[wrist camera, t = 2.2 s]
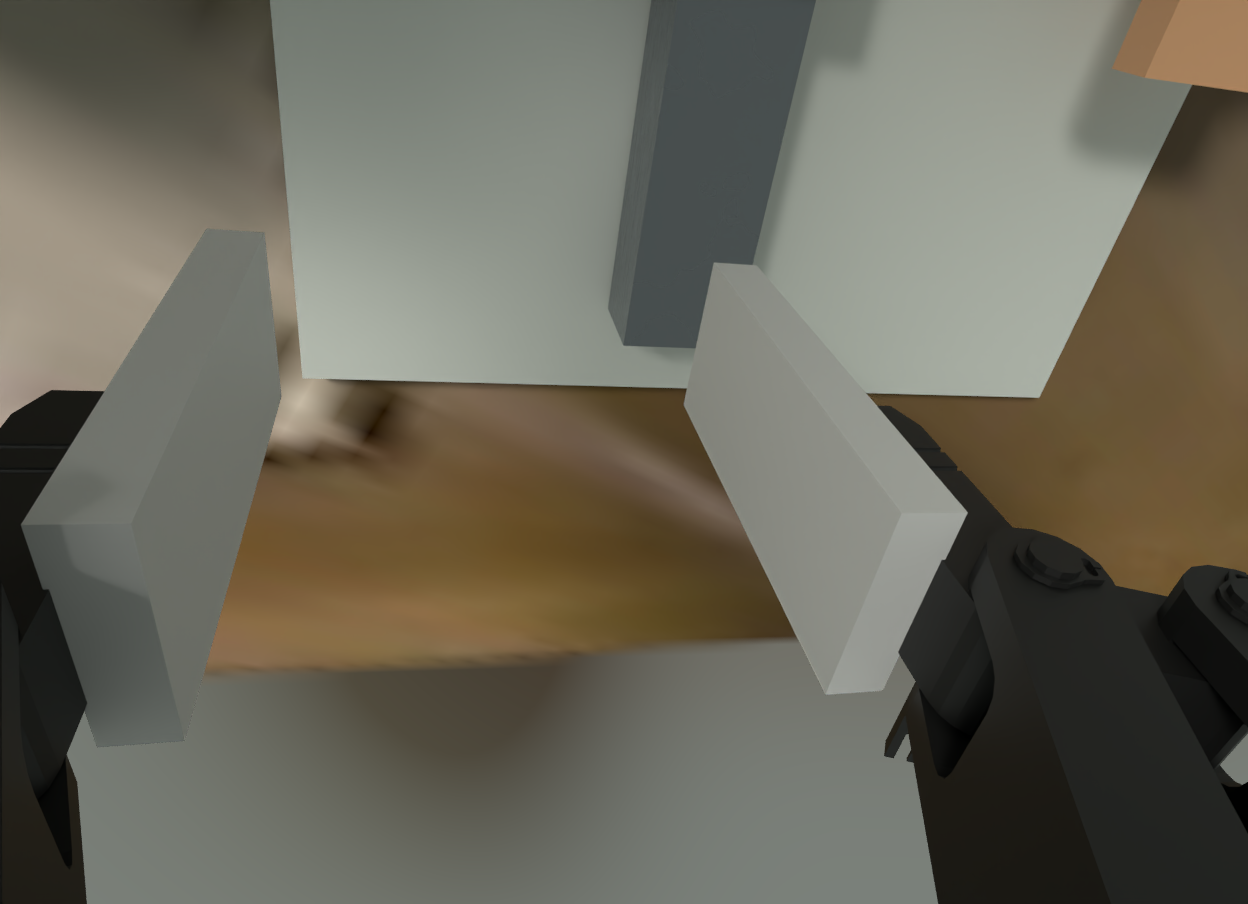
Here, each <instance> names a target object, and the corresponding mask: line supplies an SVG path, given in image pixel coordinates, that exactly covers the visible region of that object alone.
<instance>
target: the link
mask: <svg viewBox="0 0 1248 904" xmlns="http://www.w3.org/2000/svg"><path fill="white" fill-rule="evenodd" d="M815 3H816V0H651V6H650V13H649V21H648V28H647V35H646V42H645V49H644V56H643V63H642V70H641V77H640V84H639V91H638V98H637V105H636V113H635V120H634V127H633V134H632V141H631V148H630V155H629V162H628V169H627V176H626V183H625V190H624V197H623V205H622V212H621V219H620V226H619V233H618V240H617V247H616V254H615V261H614V268H613V275H612V282H611V289H610V297H609V304H608V310H609V313H610V315H611V318H612V320H613V322H614V325H615V327H616V329H617V332H618V334H619V337H620V339H621V341H622V344H623V346H645V347H671V348H696V344H697V339H698V335H699V330H700V325H701V321H702V316H703V311H704V306H705V302H706V297H707V292H708V288H709V283H710V278H711V273H712V269H713V264H714V263H729V264H744V265H753V261H754V257H755V253H756V249H757V245H758V240H759V236H760V232H761V228H762V224H763V219H764V215H765V211H766V207H767V203H768V199H769V194H770V190H771V186H772V182H773V178H774V174H775V169H776V165H777V161H778V157H779V153H780V149H781V144H782V140H783V136H784V132H785V128H786V124H787V119H788V115H789V111H790V107H791V103H792V99H793V94H794V90H795V86H796V82H797V78H798V74H799V69H800V65H801V61H802V57H803V53H804V48H805V44H806V40H807V36H808V32H809V28H810V23H811V19H812V15H813V11H814V7H815Z"/></svg>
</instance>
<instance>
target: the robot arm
mask: <svg viewBox="0 0 1248 904" xmlns="http://www.w3.org/2000/svg"><path fill="white" fill-rule="evenodd" d="M280 400H281V387H280V378H279V368H278V358H277V349H276V339H275V330H274V320H273V310H272V301H271V291H270V282H269V272H268V262H267V253H266V243H265V234H264V233H263V232H248V231H233V230H218V229H206V231H205V232H204V234H203V235H202V237H201V239H200V240H199V242H198V243H197V245H196V247H195V248H194V250H193V251H192V253H191V255H190V256H189V258H188V259H187V261H186V263H185V264H184V266H183V267H182V269H181V270H180V272H179V274H178V275H177V277H176V278H175V280H174V282H173V283H172V285H171V286H170V288H169V290H168V291H167V293H166V294H165V296H164V298H163V299H162V301H161V302H160V304H159V306H158V307H157V309H156V310H155V312H154V314H153V315H152V317H151V318H150V320H149V321H148V323H147V325H146V326H145V328H144V329H143V331H142V333H141V334H140V336H139V337H138V339H137V341H136V342H135V344H134V345H133V347H132V349H131V350H130V352H129V353H128V355H127V357H126V358H125V360H124V361H123V363H122V364H121V366H120V368H119V369H118V371H117V372H116V374H115V376H114V377H113V379H112V380H111V382H110V384H109V385H108V387H107V388H106V390H105V391H64V390H51V391H49V392H47V393H46V394H44V395H42V396H41V397H39V398H37V399H36V400H34V401H32V402H31V403H29V404H27V405H26V406H24V407H22V408H21V409H19V410H17V411H16V412H14V413H12V414H11V415H10V416H9V418H8V419H7V420H6V421H5V423H4V424H3V425H2V427H1V428H0V904H87V901H86V888H85V876H84V863H83V850H82V838H81V825H80V812H79V800H78V787H77V781H76V778H75V776H74V773H73V770H72V768H71V765H70V762H69V760H68V757H67V752H68V749H69V747H70V744H71V742H72V740H73V737H74V735H75V732H76V730H77V727H78V725H79V722H80V720H81V717H82V715H83V713H84V711H85V714H86V717H87V719H88V722H89V725H90V728H91V731H92V734H93V737H94V740H95V742H96V746H97V747H109V746H123V745H135V744H150V743H163V742H178V741H185V738H186V735H187V731H188V728H189V724H190V721H191V717H192V713H193V710H194V706H195V702H196V699H197V696H198V692H199V688H200V685H201V681H202V678H203V674H204V671H205V667H206V664H207V660H208V656H209V653H210V649H211V646H212V642H213V639H214V635H215V631H216V628H217V624H218V621H219V617H220V614H221V610H222V606H223V603H224V599H225V596H226V592H227V589H228V585H229V581H230V578H231V574H232V571H233V567H234V564H235V560H236V557H237V553H238V549H239V546H240V542H241V539H242V535H243V532H244V528H245V524H246V521H247V517H248V514H249V510H250V507H251V503H252V499H253V496H254V492H255V489H256V485H257V482H258V478H259V474H260V471H261V467H262V464H263V460H264V457H265V453H266V450H267V446H268V442H269V439H270V435H271V432H272V428H273V425H274V421H275V417H276V414H277V410H278V407H279V403H280ZM684 407H685V409H686V411H687V413H688V415H689V417H690V419H691V421H692V423H693V425H694V427H695V429H696V431H697V433H698V435H699V437H700V440H701V442H702V444H703V446H704V448H705V450H706V452H707V454H708V456H709V458H710V460H711V462H712V464H713V466H714V468H715V470H716V472H717V474H718V476H719V478H720V480H721V483H722V485H723V487H724V489H725V491H726V493H727V495H728V497H729V499H730V501H731V503H732V505H733V507H734V509H735V511H736V513H737V515H738V517H739V519H740V521H741V523H742V526H743V528H744V530H745V532H746V534H747V536H748V538H749V540H750V542H751V544H752V546H753V548H754V550H755V552H756V554H757V556H758V558H759V560H760V562H761V564H762V567H763V569H764V571H765V573H766V575H767V577H768V579H769V581H770V583H771V585H772V587H773V589H774V591H775V593H776V595H777V597H778V599H779V601H780V603H781V605H782V607H783V610H784V612H785V614H786V616H787V618H788V620H789V622H790V624H791V626H792V628H793V630H794V632H795V634H796V636H797V638H798V640H799V642H800V644H801V646H802V648H803V651H804V653H805V655H806V657H807V659H808V661H809V663H810V665H811V667H812V669H813V671H814V673H815V675H816V677H817V679H818V681H819V683H820V685H821V687H822V689H823V691H824V693H825V695H832V694H846V693H858V692H859V693H860V692H874V691H883V689H884V687H885V685H886V683H887V681H888V679H889V677H890V675H891V673H892V671H893V668H894V666H895V664H896V662H897V660H898V658H899V656H901V658H902V659H903V661H904V663H905V664H906V666H907V668H908V669H909V671H910V672H911V674H912V676H913V678H914V679H915V681H916V682H915V684H914V686H913V688H912V690H911V692H910V694H909V696H908V698H907V700H906V702H905V704H904V706H903V708H902V710H901V712H900V714H899V716H898V718H897V720H896V722H895V724H894V726H893V728H892V730H891V732H890V733H889V736H888V738H887V739H886V743H885V753H884V756H886V757H891V758H894V756H895V754H896V752H897V751H898V749H899V747H900V745H901V743H902V740H903V739H904V737H905V735H906V734H909V739H910V745H911V751H910V753H909V755H908V757H907V761H909V762H913V763H914V767H915V773H916V779H917V784H918V791H919V796H920V802H921V808H922V813H923V819H924V825H925V830H926V836H927V842H928V847H929V853H930V859H931V864H932V870H933V876H934V882H935V887H936V892H937V899H938V904H1248V782H1247V783H1245V784H1243V785H1241V784H1239V783H1237V782H1235V781H1234V780H1233V779H1232V778H1231V777H1230V776H1228V774H1226V772H1225V771H1224V770H1223V769H1222V767H1221V766H1220V764H1221V763H1222V762H1223V761H1224V760H1225V758H1226V757H1227V756H1228V755H1229V754H1230V753H1231V752H1232V751H1233V749H1234V748H1235V747H1236V746H1237V745H1238V744H1239V743H1240V741H1241V740H1242V739H1243V738H1244V737H1245V736H1246V735H1247V734H1248V575H1247V574H1246V573H1245V572H1241V571H1238V570H1235V569H1228V568H1223V567H1217V566H1211V565H1204V566H1196V567H1191V568H1190V569H1189V570H1188V571H1187V572H1186V573H1185V574H1183V576H1182V577H1181V578H1180V580H1179V581H1178V583H1177V584H1176V586H1175V587H1174V588H1173V590H1172V591H1171V593H1170V594H1169V596H1168V597H1167V596H1162V595H1157V594H1153V593H1148V592H1143V591H1138V590H1133V589H1128V588H1123V587H1119V586H1115V584H1114V582H1113V580H1112V579H1111V578H1110V577H1109V575H1108V574H1107V573H1106V571H1105V570H1104V569H1103V568H1102V566H1101V565H1100V564H1099V563H1098V562H1096V561H1095V560H1094V559H1093V558H1091V557H1090V556H1089V555H1087V554H1086V553H1085V552H1083V551H1082V550H1081V549H1079V548H1077V547H1075V546H1074V545H1072V544H1070V543H1068V542H1066V541H1064V540H1062V539H1060V538H1058V537H1056V536H1052V535H1049V534H1046V533H1043V532H1039V531H1036V530H1033V529H1021V528H1012V526H1011V525H1010V524H1009V523H1008V522H1007V521H1006V520H1005V519H1004V518H1003V517H1002V515H1001V514H1000V513H999V512H998V511H997V510H996V509H995V508H994V507H993V505H992V504H991V503H990V502H989V501H988V500H987V499H986V498H985V497H984V495H983V494H982V493H981V492H980V491H979V490H978V489H977V488H976V487H975V485H974V484H973V483H972V482H971V481H970V480H969V479H968V478H967V477H966V476H965V474H964V473H963V472H962V471H957V466H956V464H955V463H954V462H953V461H952V460H951V459H950V458H949V457H948V456H947V454H946V453H945V452H940V449H941V448H940V447H939V446H938V444H937V443H936V442H935V441H934V440H933V439H932V438H931V437H930V436H929V435H928V433H927V432H926V431H925V430H924V429H923V428H922V427H921V426H920V425H919V424H917V423H916V422H914V421H912V420H911V419H909V418H908V417H906V416H905V415H903V414H902V413H900V412H899V411H897V410H896V409H894V408H892V407H891V406H876V404H875V403H874V402H873V401H872V400H871V398H870V397H869V396H868V395H867V394H866V393H865V391H864V390H863V389H862V388H861V387H860V386H859V384H858V383H857V382H856V381H855V380H854V379H853V377H852V376H851V375H850V374H849V373H848V372H847V370H846V369H845V368H844V367H843V366H842V365H841V363H840V362H839V361H838V360H837V359H836V357H835V356H834V355H833V354H832V353H831V352H830V350H829V349H828V348H827V347H826V346H825V345H824V343H823V342H822V341H821V340H820V339H819V338H818V336H817V335H816V334H815V333H814V332H813V331H812V329H811V328H810V327H809V326H808V325H807V324H806V322H805V321H804V320H803V319H802V318H801V316H800V315H799V314H798V313H797V312H796V311H795V309H794V308H793V307H792V306H791V305H790V304H789V302H788V301H787V300H786V299H785V298H784V297H783V295H782V294H781V293H780V292H779V291H778V290H777V288H776V287H775V286H774V285H773V284H772V282H771V281H770V280H769V279H768V278H767V277H766V275H765V274H764V273H763V272H762V271H761V270H760V268H759V267H758V266H757V265H744V264H729V263H714V264H713V269H712V273H711V278H710V283H709V288H708V292H707V297H706V302H705V306H704V311H703V316H702V321H701V325H700V330H699V335H698V339H697V344H696V349H695V354H694V358H693V363H692V368H691V372H690V377H689V382H688V387H687V391H686V396H685V401H684Z"/></svg>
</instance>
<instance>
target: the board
mask: <svg viewBox="0 0 1248 904" xmlns="http://www.w3.org/2000/svg"><path fill="white" fill-rule="evenodd" d="M1140 2H1141V0H816V3H815V7H814V11H813V15H812V19H811V23H810V28H809V32H808V36H807V40H806V44H805V48H804V53H803V57H802V61H801V65H800V69H799V74H798V78H797V82H796V86H795V90H794V94H793V99H792V103H791V107H790V111H789V115H788V119H787V124H786V128H785V132H784V136H783V140H782V144H781V149H780V153H779V157H778V161H777V165H776V169H775V174H774V178H773V182H772V186H771V190H770V194H769V199H768V203H767V207H766V211H765V215H764V219H763V224H762V228H761V232H760V236H759V240H758V245H757V249H756V253H755V257H754V261H753V265H757V266H758V267H759V268H760V270H761V271H762V272H763V273H764V274H765V275H766V277H767V278H768V279H769V280H770V281H771V282H772V284H773V285H774V286H775V287H776V288H777V290H778V291H779V292H780V293H781V294H782V295H783V297H784V298H785V299H786V300H787V301H788V302H789V304H790V305H791V306H792V307H793V308H794V309H795V311H796V312H797V313H798V314H799V315H800V316H801V318H802V319H803V320H804V321H805V322H806V324H807V325H808V326H809V327H810V328H811V329H812V331H813V332H814V333H815V334H816V335H817V336H818V338H819V339H820V340H821V341H822V342H823V343H824V345H825V346H826V347H827V348H828V349H829V350H830V352H831V353H832V354H833V355H834V356H835V357H836V359H837V360H838V361H839V362H840V363H841V365H842V366H843V367H844V368H845V369H846V370H847V372H848V373H849V374H850V375H851V376H852V377H853V379H854V380H855V381H856V382H857V383H858V384H859V386H860V387H861V388H862V389H863V390H864V391H865V393H882V394H920V395H957V396H995V397H1033V398H1039V397H1040V395H1041V393H1042V391H1043V389H1044V387H1045V384H1046V382H1047V380H1048V378H1049V376H1050V374H1051V372H1052V370H1053V368H1054V366H1055V364H1056V362H1057V360H1058V358H1059V356H1060V354H1061V352H1062V350H1063V348H1064V346H1065V344H1066V342H1067V340H1068V337H1069V335H1070V333H1071V331H1072V329H1073V327H1074V325H1075V323H1076V321H1077V319H1078V317H1079V315H1080V313H1081V311H1082V309H1083V307H1084V305H1085V303H1086V301H1087V299H1088V297H1089V295H1090V293H1091V290H1092V288H1093V286H1094V284H1095V282H1096V280H1097V278H1098V276H1099V274H1100V272H1101V270H1102V268H1103V266H1104V264H1105V262H1106V260H1107V258H1108V256H1109V254H1110V252H1111V250H1112V248H1113V246H1114V243H1115V241H1116V239H1117V237H1118V235H1119V233H1120V231H1121V229H1122V227H1123V225H1124V223H1125V221H1126V219H1127V217H1128V215H1129V213H1130V211H1131V209H1132V207H1133V205H1134V203H1135V201H1136V199H1137V196H1138V194H1139V192H1140V190H1141V188H1142V186H1143V184H1144V182H1145V180H1146V178H1147V176H1148V174H1149V172H1150V170H1151V168H1152V166H1153V164H1154V162H1155V160H1156V158H1157V156H1158V154H1159V152H1160V149H1161V147H1162V145H1163V143H1164V141H1165V139H1166V137H1167V135H1168V133H1169V131H1170V129H1171V127H1172V125H1173V123H1174V121H1175V119H1176V117H1177V115H1178V113H1179V111H1180V109H1181V107H1182V105H1183V102H1184V100H1185V98H1186V96H1187V94H1188V92H1189V90H1190V88H1191V86H1192V84H1185V83H1178V82H1171V81H1164V80H1157V79H1150V78H1144V77H1140V76H1136V75H1133V74H1129V73H1126V72H1122V71H1118V70H1115V69H1112V67H1113V64H1114V62H1115V60H1116V58H1117V55H1118V53H1119V51H1120V48H1121V46H1122V44H1123V41H1124V39H1125V37H1126V35H1127V32H1128V30H1129V28H1130V25H1131V23H1132V21H1133V18H1134V16H1135V14H1136V12H1137V9H1138V7H1139V5H1140ZM650 6H651V0H270V7H271V19H272V30H273V42H274V53H275V65H276V77H277V88H278V100H279V111H280V123H281V134H282V146H283V157H284V169H285V180H286V192H287V203H288V215H289V226H290V238H291V249H292V261H293V272H294V284H295V296H296V307H297V319H298V330H299V342H300V353H301V365H302V376H303V378H314V379H351V380H389V381H427V382H465V383H503V384H541V385H579V386H617V387H654V388H687V387H688V382H689V377H690V372H691V368H692V363H693V358H694V354H695V349H696V348H671V347H645V346H623V344H622V341H621V339H620V337H619V334H618V332H617V329H616V327H615V325H614V322H613V320H612V318H611V315H610V313H609V310H608V304H609V297H610V289H611V282H612V275H613V268H614V261H615V254H616V247H617V240H618V233H619V226H620V219H621V212H622V205H623V197H624V190H625V183H626V176H627V169H628V162H629V155H630V148H631V141H632V134H633V127H634V120H635V113H636V105H637V98H638V91H639V84H640V77H641V70H642V63H643V56H644V49H645V42H646V35H647V28H648V21H649V13H650Z"/></svg>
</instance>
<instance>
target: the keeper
mask: <svg viewBox="0 0 1248 904" xmlns="http://www.w3.org/2000/svg"><path fill="white" fill-rule="evenodd" d="M1112 69H1115V70H1118V71H1122V72H1126V73H1129V74H1133V75H1136V76H1140V77H1144V78H1150V79H1157V80H1164V81H1171V82H1178V83H1185V84H1192V85H1199V86H1206V87H1213V88H1220V89H1227V90H1233V91H1240V92H1247V93H1248V0H1141V2H1140V5H1139V7H1138V9H1137V12H1136V14H1135V16H1134V18H1133V21H1132V23H1131V25H1130V28H1129V30H1128V32H1127V35H1126V37H1125V39H1124V41H1123V44H1122V46H1121V48H1120V51H1119V53H1118V55H1117V58H1116V60H1115V62H1114V64H1113V67H1112Z"/></svg>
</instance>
